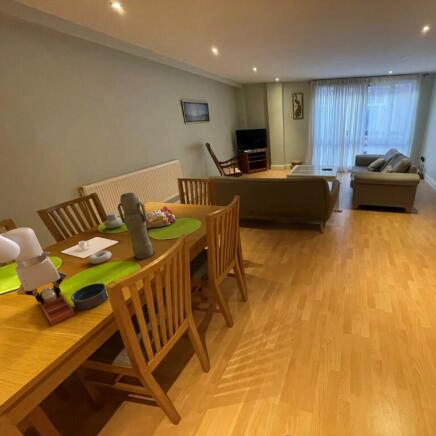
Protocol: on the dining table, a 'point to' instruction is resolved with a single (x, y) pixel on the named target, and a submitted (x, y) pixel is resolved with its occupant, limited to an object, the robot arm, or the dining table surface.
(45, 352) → the dining table surface
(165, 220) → the candy landscape model
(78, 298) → the bowl
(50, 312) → the brown compartment tray
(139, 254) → the grey tall piece
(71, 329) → the dining table surface
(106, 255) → the donut
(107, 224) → the air freshener
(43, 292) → the egg
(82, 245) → the teacup and saucer
